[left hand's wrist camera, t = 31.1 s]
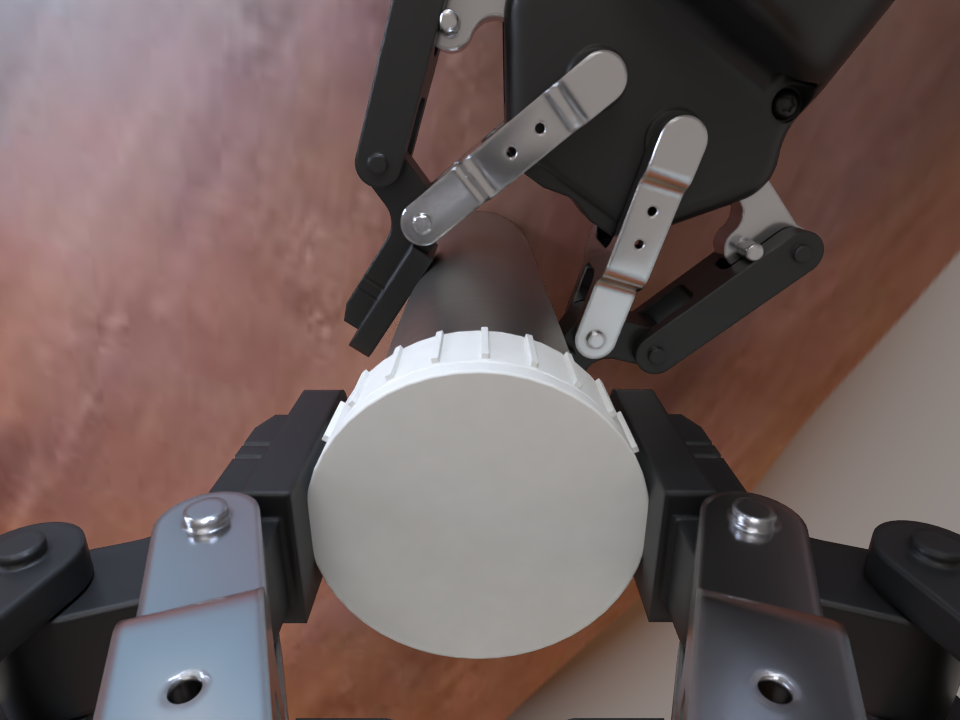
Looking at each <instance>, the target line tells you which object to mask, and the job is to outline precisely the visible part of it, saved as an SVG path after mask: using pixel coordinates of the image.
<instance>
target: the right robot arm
mask: <svg viewBox="0 0 960 720" xmlns="http://www.w3.org/2000/svg"><path fill="white" fill-rule="evenodd" d="M894 1H895V0H392V2H391V7H390V11H389V15H388V19H387V24H386V28H385V32H384V37H383V41H382V45H381V50H380V54H379V58H378V63H377V67H376V71H375V76H374V80H373V84H372V89H371V93H370V97H369V101H368V106H367V110H366V114H365V119H364V123H363V127H362V132H361V136H360V140H359V145H358V149H357V153H356V158H355V167H356V171H357V173H358V175H359V177H360V178H361V179H362V181H363V182H365V183H366V184H367V185H369V186H371V187H372V188H373V189H374V190H375V192H376V193H377V194H378V196H379V197H380V198H381V200H382V201H383V202H384V204H385V205H386V207H387V208H388V210H389V212H390V215H391V221H392V224H391V231H390V234H389V236H388V238H387V239H386V241H385V243H384V244H383V246H382V247H381V249H380V251H379V252H378V254H377V255H376V257H375V259H374V260H373V262H372V263H371V265H370V267H369V268H368V270H367V271H366V273H365V275H364V276H363V278H362V280H361V281H360V283H359V284H358V286H357V288H356V289H355V291H354V292H353V294H352V296H351V297H350V299H349V300H348V302H347V304H346V311H345V318H344V321H346V322H347V323H349V324H350V325H352V326H354V327H355V328H357V329H358V330H357V332H356V333H355V335H354V337H353V339H352V340H351V342H350V344H349V346H351V347H352V348H354V349H356V350H357V351H359V352H361V353H362V354H364V355H366V356H367V357H369V356H370V355H371V354H372V352H373V351H374V349H375V348H376V346H377V345H378V343H379V342H380V340H381V339H382V337H383V335H384V334H385V332H386V331H387V329H388V328H389V326H390V325H391V323H392V322H393V320H394V319H395V317H396V316H397V314H398V313H399V311H400V310H401V308H402V307H403V305H404V304H405V302H406V301H407V299H408V298H409V296H410V295H411V293H412V291H413V289H414V287H415V286H416V284H417V283H418V282H419V280H420V279H421V278H422V276H423V275H424V273H425V272H426V270H427V269H428V267H429V266H430V264H431V263H432V261H433V259H434V256H435V253H436V250H437V247H438V244H437V243H436V242H437V241H438V240H439V239H440V238H441V237H442V236H444V235H445V234H446V233H447V232H449V231H450V230H451V229H452V228H453V227H455V226H456V225H457V224H458V223H460V222H461V221H462V220H463V219H465V218H466V217H467V216H468V215H469V214H471V213H472V212H473V211H474V210H476V209H477V208H478V207H479V206H481V205H482V204H483V203H485V202H486V201H488V200H490V199H491V198H493V197H494V196H496V195H497V194H498V193H500V192H501V191H502V190H503V189H505V188H506V187H507V186H508V185H510V184H511V183H512V182H513V181H515V180H516V179H517V178H518V177H519V176H521V175H522V174H523V173H524V174H525V175H527V176H528V177H530V178H531V179H532V180H534V181H535V182H537V183H538V184H539V185H541V186H542V187H544V188H546V189H549V190H552V191H554V192H557V193H560V194H563V195H565V196H568V197H569V198H570V199H571V200H572V201H573V203H574V204H575V205H576V206H577V208H578V209H579V210H580V211H581V212H582V213H583V214H584V215H585V216H586V217H587V218H588V219H589V220H590V221H591V222H592V223H594V225H593V227H592V230H591V233H590V235H589V238H588V241H587V244H586V247H585V252H584V260H583V264H582V267H581V270H580V273H579V275H578V278H577V281H576V283H575V286H574V289H573V292H572V294H571V297H570V300H569V302H568V305H567V308H566V311H565V314H564V316H563V317H562V318H561V320H560V321H559V322H558V323H559V325H560V328H561V331H562V333H563V336H564V339H565V341H566V344H567V347H568V349H569V352H570V354H571V355H572V357H573V359H574V362H576V363H577V364H578V365H579V366H580V367H581V368H582V369H584V370H585V371H586V369H587V368H588V367H589V366H590V365H591V364H593V363H594V362H596V361H598V360H601V359H606V358H613V359H618V360H622V361H626V362H630V363H635V364H638V366H639V367H640V368H641V369H642V370H643V371H645V372H647V373H650V374H659V373H663V372H665V371H667V370H668V369H670V368H671V367H673V366H674V365H676V364H677V363H678V362H680V361H681V360H683V359H684V358H686V357H687V356H689V355H690V354H691V353H693V352H694V351H696V350H697V349H699V348H700V347H701V346H703V345H704V344H706V343H707V342H709V341H710V340H712V339H713V338H714V337H716V336H717V335H719V334H720V333H722V332H723V331H725V330H726V329H727V328H729V327H730V326H732V325H733V324H735V323H736V322H738V321H739V320H740V319H742V318H743V317H745V316H746V315H748V314H749V313H751V312H752V311H753V310H755V309H756V308H758V307H759V306H761V305H762V304H764V303H765V302H766V301H768V300H769V299H771V298H772V297H774V296H775V295H777V294H778V293H779V292H781V291H782V290H784V289H785V288H787V287H788V286H790V285H791V284H792V283H794V282H795V281H797V280H798V279H800V278H801V277H802V276H804V275H805V274H807V273H808V272H810V271H811V270H813V269H814V268H815V267H816V266H817V265H818V264H819V262H820V261H821V259H822V256H823V253H824V245H823V242H822V240H821V238H820V237H819V236H818V235H817V234H815V233H813V232H810V231H807V230H805V229H804V228H802V227H799V226H798V225H797V224H796V223H795V222H794V220H793V218H792V217H791V215H790V214H789V212H788V210H787V209H786V207H785V206H784V204H783V202H782V201H781V199H780V198H779V196H778V194H777V193H776V191H775V190H774V188H773V186H772V185H771V183H770V182H769V179H770V178H771V176H772V174H773V172H774V170H775V168H776V165H777V161H778V157H779V152H780V149H781V146H782V143H783V140H784V138H785V135H786V133H787V131H788V130H789V128H790V126H791V124H792V123H793V122H794V120H795V119H796V118H797V117H798V116H799V114H800V113H801V112H802V111H803V110H804V109H805V108H806V107H807V106H808V105H809V104H810V103H811V102H812V101H813V100H814V99H815V98H816V96H817V95H818V94H819V93H820V92H821V91H822V90H823V89H824V87H825V86H826V85H827V84H828V82H829V81H830V80H831V79H832V77H833V76H834V75H835V74H836V72H837V71H838V70H839V69H840V68H841V66H842V65H843V64H844V63H845V61H846V60H847V59H848V58H849V56H850V55H851V54H852V53H853V51H854V50H855V49H856V48H857V47H858V45H859V44H860V43H861V42H862V40H863V39H864V38H865V37H866V35H867V34H868V33H869V32H870V30H871V29H872V28H873V27H874V26H875V24H876V23H877V22H878V21H879V19H880V18H881V17H882V16H883V14H884V13H885V12H886V11H887V9H888V8H889V7H890V6H891V5H892V3H893V2H894ZM490 21H499V22H502V23H503V77H504V121H503V122H502V123H501V124H499V125H498V126H497V127H496V128H495V129H493V130H492V131H491V132H490V133H489V134H488V135H486V136H485V137H484V138H483V139H482V140H480V141H479V142H478V143H477V144H476V145H475V146H473V147H472V148H471V149H470V150H469V151H468V152H466V153H465V154H464V155H463V156H462V157H461V158H460V159H459V160H458V161H456V162H455V163H454V164H453V165H452V166H450V167H449V168H448V169H447V170H446V171H445V172H443V173H442V174H441V175H440V176H439V177H437V178H436V179H435V180H434V181H433V182H432V183H431V182H430V181H429V180H428V178H427V177H426V175H425V174H424V173H423V171H422V170H421V169H420V167H419V166H418V164H417V163H416V162H415V160H414V159H413V158H412V155H413V151H414V147H415V143H416V140H417V136H418V132H419V128H420V124H421V121H422V117H423V113H424V109H425V106H426V102H427V98H428V94H429V90H430V87H431V83H432V79H433V75H434V71H435V68H436V64H437V60H438V56H439V52H440V51H442V52H445V53H449V54H454V53H458V52H461V51H462V50H464V49H465V48H466V47H467V46H468V45H469V43H470V42H471V40H472V37H473V35H474V33H475V32H476V30H477V29H478V28H479V27H480V26H481V25H483V24H484V23H487V22H490ZM507 149H508V150H507ZM730 204H731V212H730V216H729V218H728V220H727V222H726V223H725V224H724V225H723V226H722V227H721V228H720V229H719V230H718V232H717V233H716V235H715V237H714V241H713V247H714V252H713V253H712V254H710V255H709V256H708V257H706V258H705V259H704V260H702V261H701V262H699V263H698V264H697V265H695V266H694V267H693V268H691V269H690V270H688V271H687V272H686V273H684V274H683V275H682V276H680V277H679V278H678V279H676V280H675V281H673V282H672V283H671V284H669V285H668V286H667V287H665V288H664V289H662V290H661V291H660V292H658V293H657V294H656V295H654V296H653V297H652V298H650V299H649V300H647V301H646V302H645V303H643V304H642V305H641V306H639V307H638V308H636V309H635V310H634V311H632V312H631V311H629V310H630V307H631V305H632V303H633V300H634V298H635V296H636V294H637V292H638V291H640V290H641V289H643V287H644V286H645V285H646V283H647V281H648V279H649V276H650V274H651V271H652V269H653V267H654V264H655V262H656V259H657V257H658V254H659V252H660V250H661V247H662V245H663V242H664V240H665V237H666V235H667V233H668V230H669V228H670V225H673V224H676V223H678V222H681V221H684V220H687V219H690V218H693V217H696V216H698V215H701V214H704V213H707V212H710V211H713V210H715V209H718V208H721V207H724V206H727V205H730ZM637 240H639V243H638V244H637V245H634V244H635V242H636V241H637Z"/></svg>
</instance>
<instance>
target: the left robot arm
mask: <svg viewBox="0 0 960 720" xmlns="http://www.w3.org/2000/svg"><path fill="white" fill-rule="evenodd" d="M610 400H611V402H612V404H613V406H614V408H615V411H616V413H617V412H619V411H621V413H622V415H623V417H624V419H625V421H626V423H627V426H628V428H629V430H630V432H631V434H632V436H633V438H634V440H635V442H636V444H637V447H638V449H639V452H636V453H634V454H635V456H636V458H637V461H638V463H639V465H640V467H641V470H642V472H643V475H644V479H645V482H646V486H647V490H648V496H649V502H648V513H647V522H646V530H645V539H644V548H643V554H642V558H641V561H640V564H639V566H638V568H637V570H636V572H635V574H634V578H635V581H636V584H637V587H638V590H639V593H640V596H641V599H642V602H643V605H644V608H645V611H646V615H647V618H648V621H649V622H673V624H674V627H675V629H676V632H677V635H678V637H679V640H680V643H679V649H678V656H677V666H676V676H675V686H674V696H673V706H672V716H671V720H960V698H959V697H958V696H957V695H956V694H957V691H958V689H959V686H960V535H959V534H957V533H954V532H952V531H950V530H947V529H944V528H941V527H938V526H934V525H931V524H927V523H921V522H916V521H907V520H897V521H889V522H885V523H882V524H880V525H879V526H877V527H876V528H875V530H874V532H873V535H872V538H871V542H870V545H869V549H864V548H858V547H853V546H848V545H843V544H838V543H833V542H828V541H823V540H818V539H814V538H810V537H809V534H808V529H807V526H806V524H805V523H804V521H803V520H802V518H801V517H800V516H799V515H798V514H797V513H795V512H794V511H793V510H792V509H790V508H789V507H787V506H785V505H784V504H782V503H780V502H778V501H776V500H773V499H771V498H768V497H765V496H762V495H758V494H753V493H748V492H747V491H746V490H745V489H744V487H743V486H742V484H741V483H740V482H739V480H738V479H737V477H736V476H735V474H734V473H733V472H732V470H731V469H730V467H729V466H728V465H727V463H726V462H725V460H724V459H723V458H721V455H720V453H719V452H718V450H717V449H716V448H715V446H714V445H712V442H711V440H710V439H709V438H708V436H707V435H706V433H705V432H704V431H703V429H702V428H701V427H700V426H698V425H697V424H695V423H694V422H692V421H691V420H689V419H687V418H686V417H684V416H683V415H681V414H668V413H667V412H666V410H665V408H664V407H663V405H662V404H661V402H660V400H659V399H658V397H657V396H656V394H655V392H654V391H653V390H612V392H611V395H610ZM341 401H342V402H344V403H346V401H347V396H346V393H345V391H344V390H304V391H303V392H302V394H301V395H300V397H299V399H298V400H297V402H296V403H295V405H294V406H293V408H292V410H291V411H290V413H289V414H288V415H275V416H273V417H271V418H270V419H268V420H267V421H265V422H264V423H262V424H261V425H259V426H257V427H256V428H255V429H254V430H253V432H252V433H251V434H250V436H249V437H248V439H247V440H246V441H245V443H244V446H242V447H241V448H240V450H239V451H238V453H237V454H236V455H235V459H233V460H232V461H231V462H230V464H229V465H228V466H227V468H226V469H225V471H224V472H223V473H222V475H221V476H220V478H219V479H218V480H217V482H216V483H215V485H214V486H213V487H212V489H211V490H210V492H209V493H207V494H202V495H198V496H195V497H192V498H189V499H187V500H184V501H182V502H180V503H178V504H176V505H175V506H173V507H171V508H170V509H168V510H167V511H166V512H165V513H163V514H162V515H161V516H160V517H159V518H158V520H157V521H156V523H155V524H154V526H153V529H152V534H151V537H148V538H145V539H141V540H137V541H132V542H127V543H122V544H117V545H112V546H107V547H102V548H97V549H91V550H89V548H88V545H87V541H86V537H85V534H84V532H83V530H82V529H81V528H80V527H78V526H76V525H74V524H70V523H64V522H47V523H39V524H34V525H29V526H26V527H22V528H18V529H16V530H13V531H10V532H7V533H5V534H2V535H0V720H289V716H288V706H287V696H286V686H285V676H284V666H283V656H282V649H281V643H280V636H279V632H280V629H281V626H282V624H283V623H307V621H308V618H309V615H310V612H311V609H312V606H313V603H314V600H315V597H316V594H317V592H318V589H319V586H320V583H321V580H322V577H323V576H322V574H321V572H320V570H319V568H318V566H317V564H316V562H315V559H314V552H313V545H312V536H311V528H310V519H309V511H308V501H307V494H308V487H309V484H310V481H311V477H312V474H313V470H314V468H315V466H316V464H317V462H318V460H319V457H320V455H321V453H322V451H323V449H324V447H325V445H326V443H327V442H325V441H323V440H322V438H323V436H324V434H325V431H326V429H327V427H328V425H329V423H330V421H331V419H332V417H333V415H334V413H335V411H336V409H337V407H338V405H339V403H340V402H341ZM296 720H391V719H387V718H296ZM569 720H664V718H573V719H569Z"/></svg>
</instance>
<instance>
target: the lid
mask: <svg viewBox="0 0 960 720" xmlns="http://www.w3.org/2000/svg"><path fill="white" fill-rule="evenodd" d="M322 440H323V441H325V442H327V443H326V445H325V447H324V449H323V451H322V453H321V455H320V457H319V460H318V462H317V464H316V466H315V468H314V470H313V474H312V477H311V481H310V484H309V487H308V494H307V501H308V511H309V519H310V528H311V536H312V545H313V552H314V559H315V562H316V564H317V566H318V568H319V570H320V572H321V574H322V576H323V578H324V580H325V581H326V583H327V584H328V585H329V587H330V588H331V590H332V591H333V593H334V594H335V595H336V597H337V598H338V599H339V600H340V601H341V602H342V603H343V604H344V605H345V606H346V607H347V608H348V609H349V610H350V611H351V612H352V613H353V614H354V615H356V616H357V617H358V618H359V619H360V620H361V621H363V622H364V623H365V624H367V625H368V626H370V627H371V628H373V629H375V630H376V631H378V632H379V633H381V634H383V635H385V636H387V637H389V638H391V639H393V640H395V641H396V642H399V643H401V644H404V645H407V646H409V647H412V648H414V649H417V650H421V651H425V652H429V653H432V654H436V655H443V656H449V657H455V658H471V659H484V658H500V657H507V656H514V655H519V654H524V653H528V652H532V651H536V650H539V649H541V648H544V647H547V646H550V645H553V644H555V643H557V642H559V641H562V640H564V639H566V638H568V637H570V636H572V635H574V634H575V633H577V632H578V631H580V630H582V629H583V628H585V627H586V626H588V625H590V624H591V623H592V622H593V621H595V620H596V619H597V618H598V617H599V616H601V615H602V614H603V613H604V612H605V611H606V610H607V609H608V608H609V607H610V606H611V605H612V604H613V603H614V602H615V601H616V600H617V599H618V598H619V596H620V595H621V594H622V592H623V591H624V590H625V588H626V587H627V586H628V584H629V583H630V581H631V579H632V577H633V576H634V574H635V572H636V570H637V568H638V566H639V564H640V561H641V558H642V554H643V548H644V539H645V530H646V522H647V513H648V502H649V496H648V490H647V486H646V482H645V479H644V475H643V472H642V470H641V467H640V465H639V463H638V461H637V458H636V456H635V454H634V453H636V452H639V449H638V447H637V444H636V442H635V440H634V438H633V436H632V434H631V432H630V430H629V428H628V426H627V423H626V421H625V419H624V417H623V415H622V413H621V411H619V412H617V413H616V411H615V408H614V406H613V404H612V402H611V400H610V398H609V395H608V393H607V391H606V389H605V387H604V385H603V382H602V381H601V380H600V379H599V378H598V379H597V380H596V381H595V380H594V379H593V378H592V377H591V376H590V375H589V374H588V373H587V372H586V371H585V370H584V369H582V368H581V367H580V366H579V365H578V364H577V363H576V362H574V359H573V357H572V355H571V354H570V353H568V352H566V353H565V354H564V355H563V354H562V353H560V352H559V351H557V350H555V349H553V348H551V347H549V346H547V345H544V344H542V343H540V342H537V341H534V340H533V336H532V335H529V334H526V335H525V337H522V336H518V335H513V334H508V333H503V332H493V331H488V327H481V331H461V332H454V333H448V334H444V333H443V331H438V332H436V336H434V337H431V338H428V339H425V340H421V341H418V342H416V343H414V344H412V345H410V346H407V347H405V348H402V346H401V345H400V346H398V347H396V348H395V350H394V353H393V355H391V356H390V357H388V358H386V359H385V360H383V361H382V362H381V363H380V364H379V365H377V366H376V367H375V368H374V369H373V370H371V371H370V372H368V371H367V370H365V371H364V372H363V373H362V374H361V376H360V378H359V380H358V383H357V385H356V387H355V389H354V390H353V392H352V393H351V395H350V396H349V398H348V399H347V401H346V403H344V402H342V401H341V402H340V403H339V405H338V407H337V409H336V411H335V413H334V415H333V417H332V419H331V421H330V423H329V425H328V427H327V429H326V431H325V434H324V436H323V438H322Z"/></svg>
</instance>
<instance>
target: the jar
mask: <svg viewBox="0 0 960 720" xmlns="http://www.w3.org/2000/svg"><path fill="white" fill-rule="evenodd" d="M436 243H437V244H438V247H437V250H436V253H435V256H434V259H433V261H432V263H431V264H430V266H429V267H428V269H427V270H426V272H425V273H424V275H423V276H422V278H421V279H420V280H419V282H418V283H417V284H416V286H415V287H414V289H413V291H412V293H411V295H410V297H409V300H408V302H407V305H406V307H405V310H404V312H403V315H402V317H401V320H400V323H399V325H398V328H397V330H396V333H395V335H394V338H393V340H392V343H391V346H390V348H389V351H388V353H387V356H386V358H388V357H390V356H391V355H393V353H394V350H395V348H396V347H398V346H400V345H401V346H402V348H405V347H407V346H410V345H412V344H414V343H416V342H418V341H421V340H425V339H428V338H431V337H434V336H436V332H438V331H443V333H444V334H448V333H454V332H461V331H481V327H488V331H493V332H503V333H508V334H513V335H518V336H522V337H525V335H526V334H529V335H532V336H533V340H534V341H537V342H540V343H542V344H544V345H547V346H549V347H551V348H553V349H555V350H557V351H559V352H560V353H562V354H563V355H564V354H565V353H566V352H568V353H570V352H569V349H568V347H567V344H566V341H565V339H564V336H563V333H562V331H561V328H560V325H559V323H558V320H557V317H556V315H555V312H554V309H553V307H552V304H551V301H550V299H549V296H548V293H547V291H546V288H545V285H544V283H543V280H542V278H541V275H540V272H539V270H538V267H537V264H536V262H535V259H534V256H533V254H532V251H531V248H530V246H529V243H528V241H527V239H526V237H525V236H524V234H523V233H522V232H521V230H520V229H519V228H518V227H517V226H516V225H515V224H513V223H512V222H511V221H509V220H508V219H506V218H504V217H502V216H500V215H497V214H494V213H489V212H472V213H471V214H469V215H468V216H467V217H466V218H465V219H463V220H462V221H461V222H460V223H458V224H457V225H456V226H455V227H453V228H452V229H451V230H450V231H449V232H447V233H446V234H445V235H444V236H442V237H441V238H440V239H439V240H438V241H437V242H436ZM386 358H385V359H386Z"/></svg>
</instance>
